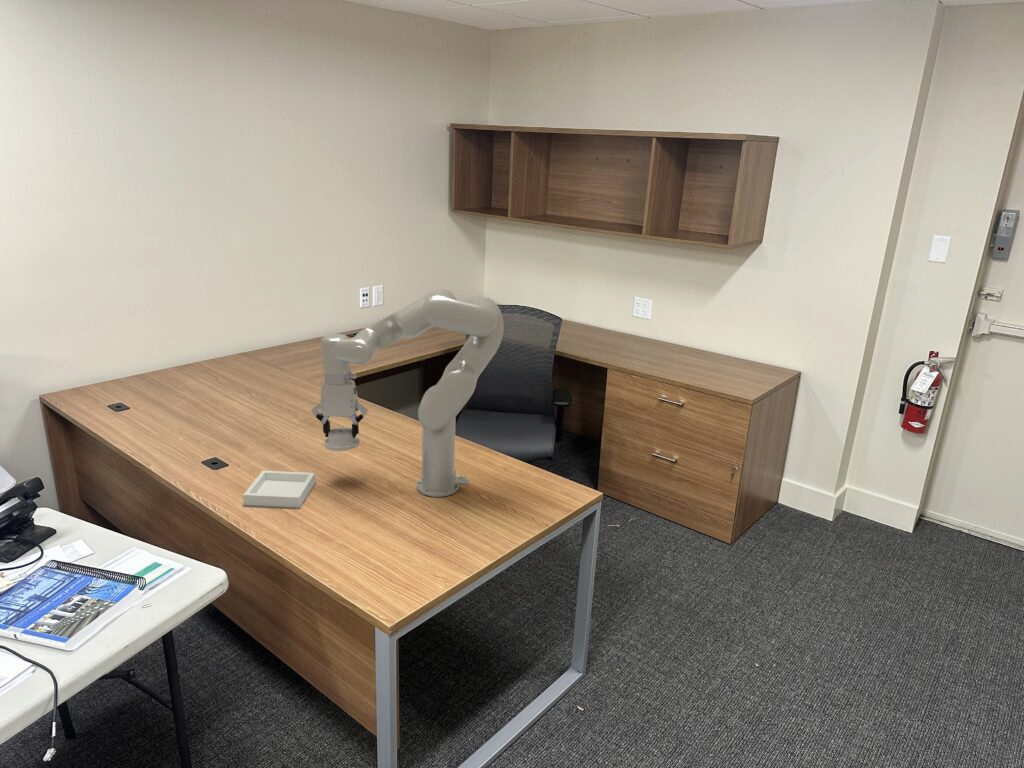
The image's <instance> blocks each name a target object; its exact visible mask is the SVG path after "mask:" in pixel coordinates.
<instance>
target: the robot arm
mask: <svg viewBox="0 0 1024 768" xmlns="http://www.w3.org/2000/svg"><path fill="white" fill-rule="evenodd" d="M502 314H503V313H502V311H501V309H500V307H499V305H498V303H496V302H495V301H494V300H493V299H491V298H489V297H486V296H483V297H478V298H476V299H475V300H473V302H471V303H470V302H466V301H462V300H457V298H456V296H455V295H454V293H453V292H452V291H450V290H448V289H446V288H439V289H438V288H437V289H435V290H433V291H431V292H429V293H428V294H426V295H424V296H422V297H420V298H419V299H417V300H415V301H413V302H411V303H409V304H407V305H406V306H404V307H403V308H400V309H398V310H396V311H395V312H393V313H392V314H390V315H387V316H385V317H383V318H382V319H379V320H378V321H376V322H374V323H372V324H370V325H369V326H367V327H365V328H363V329H362V330H360V331H358V332H357V333H356V335H355V336H354V337H352V338H348V336H347V335H345V334H342V333H329V334H326V335H324V336H322V337H321V340H320V344H321V345H320V346H321V357H322V361H321V362H322V368H323V370H322V371H323V372H322V373H323V381H322V382H321V387H320V402H319V403H318V404H316V405H315V406H314V407H312V409H310V412H311V414H313V415H314V416H315V418H316V419H317V420H318V421H320V423H321V425H322V430H323V434H325V435H324V436H325V438H328V432H330V431H331V421H330V420H329V418H330V417H334V418H335V417H336V418H337V417H341V418H347V417H348V418H349V419H350V421H351V422H352V424H351V428H352V437H353V438H355V437H356V436H357V435H358V434H359V433H360V432H359V431H360V430H359V429H360V428H359V426H360V425H359V423H360V422H361V421H362V420H363V419H364V417H365V416H367V414H368V412H369V409H368V408H367V407H365V406H364V405H362V404H361V403H360V402H359V398H358V392H357V387H356V383H355V380H356V379H357V374H356V373H353V372H352V370H351V364H353V365H354V364H355V365H365V364H368V363H369V362H370V361H372V359H373V357H374V356H375V355H376V354H377V352H379V351H380V350H382V349H384V348H386V347H388V346H389V345H391V344H393V343H395V342H397V341H400V340H402V339H407V340H409V339H414V338H415V337H416V338H417V336H419V335H421V334H423V333H425V332H426V331H428V330H430V329H433V327H436V328H439V329H442V330H446V331H449V332H454V333H459V334H463V335H467V336H469V338H468V339H467V340H466V342H465V343H464V345H463V346H462V347H461V349H460V350H459V351H458V353H457V354H456V355H455V356H454V357H453V359H452V360H451V361H450V362H449V363H447V365H446V367H445V369H444V371H443V373H442V376H441V378H440V379H439V380H438V382H437V383H436V384H435V385H433V386H431V387H429V388H428V389H427V390H426V391H425V393H424V394H423V396H422V398H421V401H420V404H419V407H418V410H417V416H418V420H419V422H420V425H422V427H421V428H422V429H421V430H422V431H421V433H422V434H421V435H422V436H421V478H420V479H419V480H418V481H417V482H416V490H417V492H418V493H421V494H422V495H425V496H427V497H433V498H442V497H447V496H451V495H454V494H456V493H457V492H458V491H459V490H460V486H469V485H470V479H469V478H467V477H466V475H458V474H457V470H455V453H456V452H455V449H456V447H455V446H456V442H455V441H456V420H457V419H456V418H457V416H458V414H459V413H460V411H462V409H463V407H465V405H466V404H467V403H468V402H469V400H470V398H471V397H472V395H473V394H474V392H475V389H476V388H477V387H476V386H477V382H478V379H479V377H480V375H481V374H482V372H483V371H484V370H485V369H486V367H487V365H488V364H489V363H490V361H492V359H493V357H494V356H495V355H496V353H497V351H498V350H499V348H500V345H501V343H502V340H503V336H504V331H505V330H504V329H505V328H504V327H505V326H504V323H505V322H504V317H503V315H502ZM319 410H320V411H319ZM358 411H360V412H361V413H360V414H359V415H358V414H357V412H358Z"/></svg>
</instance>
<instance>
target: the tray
mask: <svg viewBox="0 0 1024 768" xmlns="http://www.w3.org/2000/svg"><path fill="white" fill-rule="evenodd" d="M315 482H316V473H315V472H303V471H302V472H298V471H282V470H281V471H278V470H276V471H275V470H262V471H261V472H260V474H258V476H257V477H256V478H255V480H253V482H252V483H251V484H250V485H249V487H248V489H246V491H245V492H244V493H243V495H242V498H243V505H248V506H270V507H291V508H300V509H301V507H302V506H301V505H303V504H304V503H305V501H306V500H307V498H308V496H309V494H310V493H311V491H312V490H311V489H313V488H314V486H315V485H316V483H315ZM314 484H315V485H314ZM312 487H313V488H312ZM309 492H310V493H309ZM307 495H308V496H307ZM306 497H307V498H306ZM304 500H305V501H304ZM302 503H303V504H302Z"/></svg>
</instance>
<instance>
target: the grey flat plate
mask: <svg viewBox="0 0 1024 768" xmlns="http://www.w3.org/2000/svg"><path fill="white" fill-rule="evenodd" d="M316 483H317V481H315V484H314V486H315V485H316ZM314 486H313V487H312V489H313V488H314ZM312 489H311V491H312ZM311 491H310V492H309V494H310V493H311ZM309 494H308V495H307V497H306V499H307V498H308V496H309ZM306 499H305V500H304V502H305V501H306ZM304 502H303V503H302V505H303V504H304ZM302 505H301V507H302ZM242 507H243V508H257V509H258V508H262V509H284V510H300V509H301V507H300V508H291V507H270V506H248V505H244V504H243V506H242Z"/></svg>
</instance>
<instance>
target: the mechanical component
mask: <svg viewBox="0 0 1024 768" xmlns="http://www.w3.org/2000/svg"><path fill="white" fill-rule="evenodd" d="M323 443H324V448H325V449H327V450H329V451H335V452H344V451H345V452H346V451H350V450H353V449H356V448H357V447H358V446H359V445H360V438H359V437H358V436H357V435H356V437H355V438H353V437H352V427H344V426H342V427H334V428H332V429H331V428H330V432H328V437H326V439H325V440H324V442H323Z"/></svg>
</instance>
